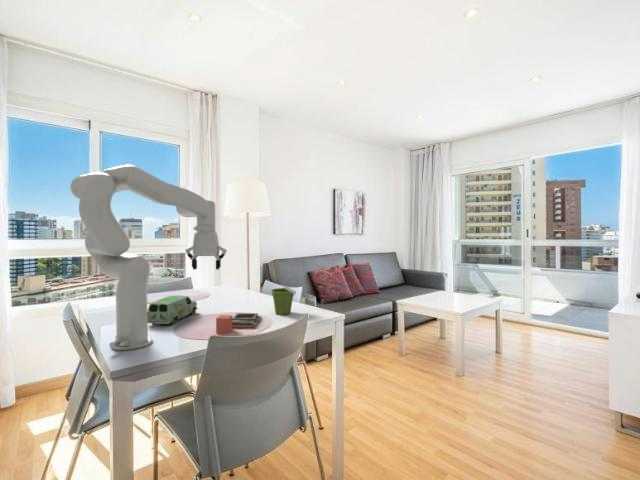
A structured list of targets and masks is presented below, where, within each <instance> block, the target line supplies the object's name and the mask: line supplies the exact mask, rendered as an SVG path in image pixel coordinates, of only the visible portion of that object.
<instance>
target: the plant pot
mask: <svg viewBox="0 0 640 480" xmlns="http://www.w3.org/2000/svg"><path fill="white" fill-rule="evenodd" d="M270 292H271V294H272V299H273V304H274V312H275V314H276V315H279V316H282V315H283V316H285V315H290V314H291V311H292V304H293V299H294V296H295V292H293V291H291V290H289V289H288V288H286V287H282V288H272V289H271V290H270Z"/></svg>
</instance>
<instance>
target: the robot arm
mask: <svg viewBox="0 0 640 480" xmlns="http://www.w3.org/2000/svg"><path fill="white" fill-rule="evenodd" d="M70 191H71V193H72V195H73V196H74V197H75V198H77V199H79V202H78V212H79V216H80V219H81V221H82V223H83V224H84V227H86V229H87V231H88V233H87V234H86V235H85V239H84V245H85V248H86V250H87V252H88V254H89V255H90V257H91V258H92V259H93V261H94V262H95V263H96V265H97V266H98V267H99V269H100V270H101V271H102V273H104V275H105V276H107V277H108V278H109V279H111V280H116V281H118V283H117V286H116V291H115V310H116V311H115V318H116V321H115V322H116V324H115V326H116V327H115V328H116V334H115V340H113V341H111V342H110V343H109V348H110V349H113V350H116V351H129V350H137V349H140V348H145V347H146V346H149V345H151V344H152V343H153V337H152V336H151V335H150V336H149V335H148V334H149V333H148V331H149V330H148V328H149V327H148V326H149V325H148V324H149V323H148V319H147V312H148V283H149V277H150V272H151V269H150V268H151V267H150V263H149V261H148V260H147V259H146V258H145V257H143V256H141V255H139V254H135V253H127V252H128V251H129V249H130V248H131V247H130V246H131V241H130V238H129V237H128V235H127V233H126V232H125V231H124V229H123V227H122V225H120V222H119V221H118V220H117V219H116V216H115V214H114V213H113V210H112V206H111V205H112V198H113V196H114V194H115V193H119V192H122V191H123V192H124V191H130V192H132V193H134V194H136V195H139V196H140V197H142V198H144V199H147V200H149V201H151V202H153V203H156V204H161V205H163V206H164V205H166V206H172V207H175V209H176V212H177V214H178V215H180V216H181V217H184V218H195V217H196V226H193V228H192V229H193V230H194V231H196V232H194V236H193V242H192V243H193V244H192V246H191V247H188V248H187V249H185V253H186V255H187V257H188V258H189V259H190V260H191V268H192V269H193V270H197V269H198V260H197V258H198V257H214V258H215V259H216V260H215V270H217V271H218V270H220V268H221V264H222V263H221V261H222V259H223V258H224V257H225V255H226V254H227V252H228V250H227V249H226V248H224V247H222V246H220V245H219V237H218V232H216V203H215V201H213V200H207V199H205V198H204V197H202V196H201V195H199V194H197V193H195V192H193V191H191V190H189V189H186V188H183V187H180V186H178V185H174V184H171V183H169V182H166V181H164V180H162V179H160V178H158V177H156V176H155V175H153V174H151V173H149V172H147V171H145V170H144V169H142V168H140V167H138V166H135V165H132V164H125V165H119V166H114V167H111V168H106V169H102V170H99V171H94V172H91V173H86V174H81V175H78V176H75V178H74V179H72V181H71V183H70ZM191 251H192V253H191ZM220 251H221V252H222V253H221V254H219V253H220Z"/></svg>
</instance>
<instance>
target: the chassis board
mask: <svg viewBox="0 0 640 480" xmlns="http://www.w3.org/2000/svg"><path fill="white" fill-rule="evenodd" d="M260 318H261V319H262V315H259V313H257V312H256V313H253V312H251V313H249V312H248V313H243V312H242V313H241V312H240V313H239V312H238V313H235V315H234V316H232V321H233V328H238V330H239V329H240V330H244V329H243V328H254V329H256V327H257V326H258V324H257V323H259V322H260V321H259V320H261V319H260ZM258 321H259V322H258ZM255 326H256V327H255Z"/></svg>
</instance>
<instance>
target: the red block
mask: <svg viewBox="0 0 640 480" xmlns="http://www.w3.org/2000/svg"><path fill="white" fill-rule="evenodd" d="M232 318H233V315H232V314H219V315H218V316H217V317H216V318H215V320H216V321H215V329H216V330H215V331H216V333H229V334H230V333H231V332H232V331H233V330H234V329H233V321H232ZM216 333H215V334H216Z"/></svg>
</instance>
